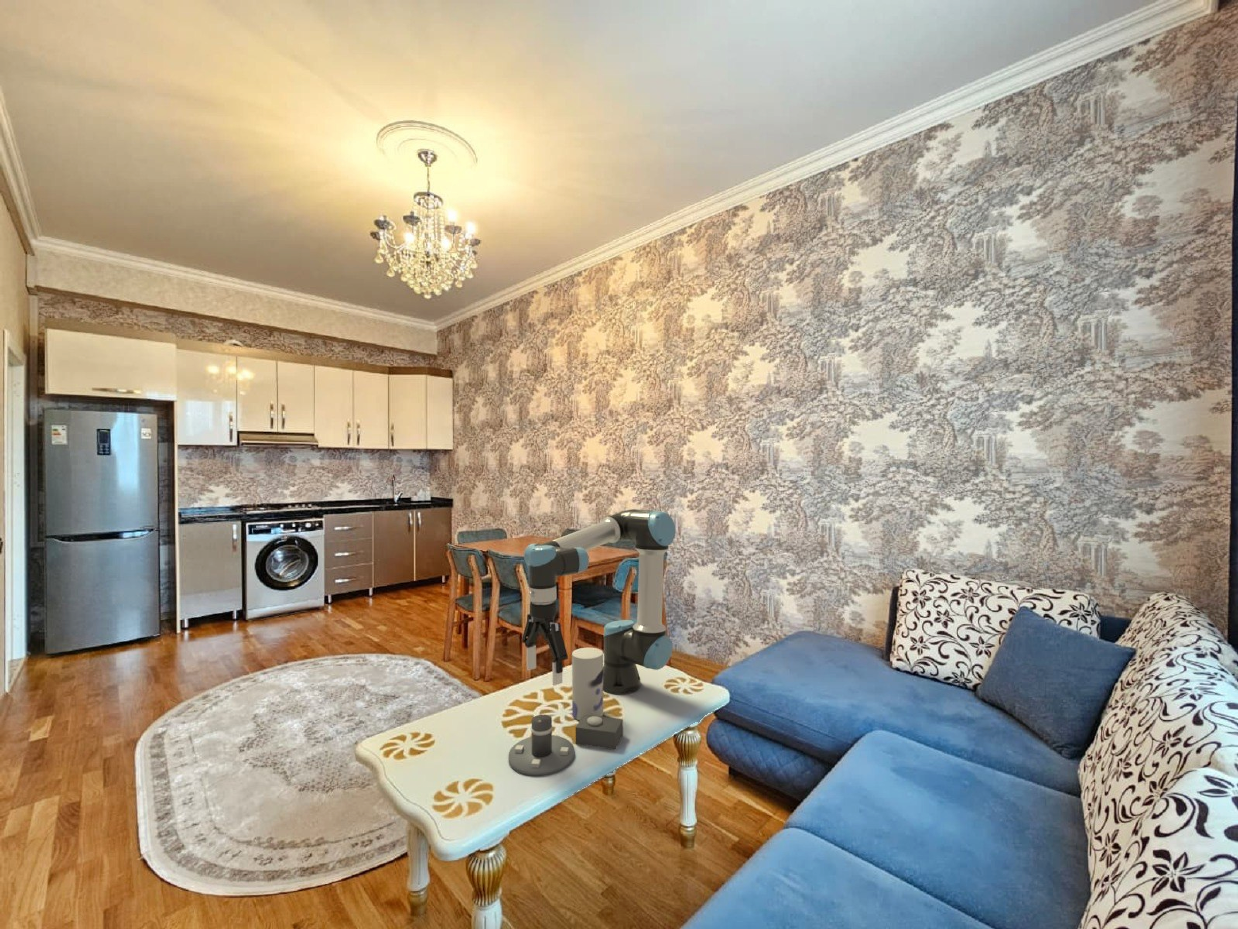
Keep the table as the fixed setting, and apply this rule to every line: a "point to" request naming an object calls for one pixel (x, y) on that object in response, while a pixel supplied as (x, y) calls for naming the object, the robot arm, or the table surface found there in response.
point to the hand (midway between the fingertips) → (544, 676)
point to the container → (587, 682)
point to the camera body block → (599, 731)
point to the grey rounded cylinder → (541, 736)
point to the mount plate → (536, 766)
